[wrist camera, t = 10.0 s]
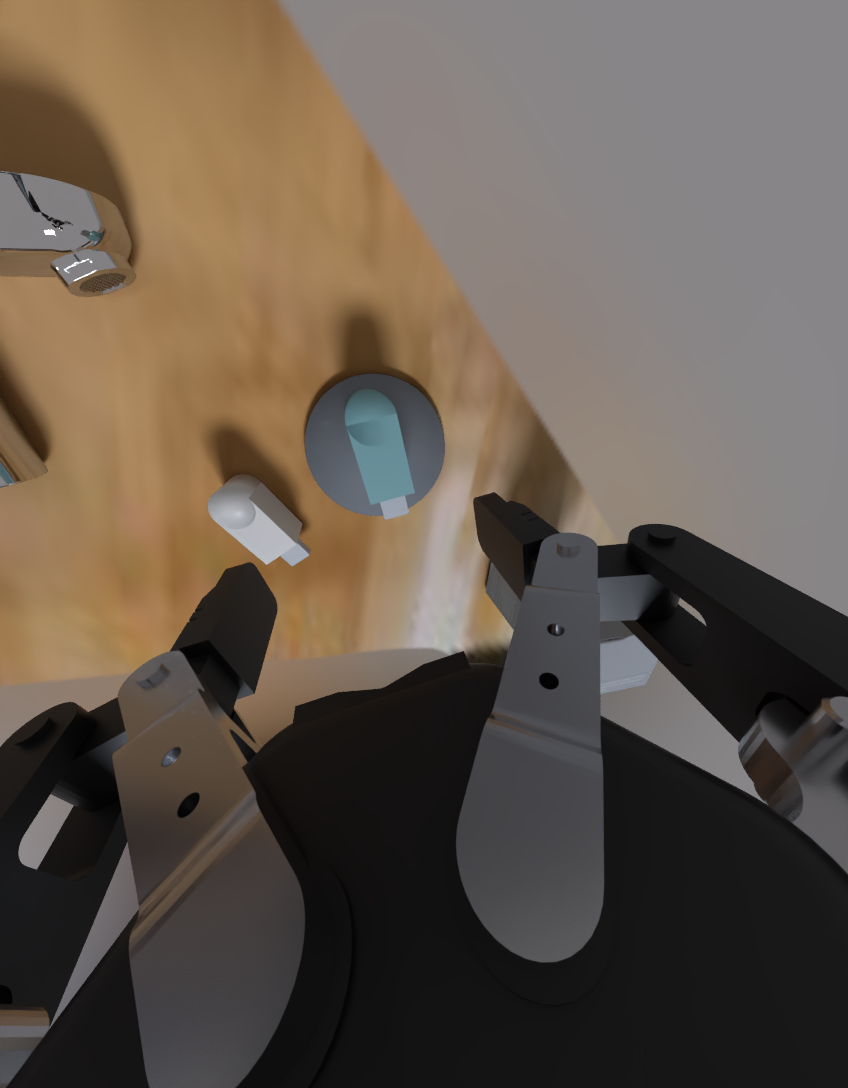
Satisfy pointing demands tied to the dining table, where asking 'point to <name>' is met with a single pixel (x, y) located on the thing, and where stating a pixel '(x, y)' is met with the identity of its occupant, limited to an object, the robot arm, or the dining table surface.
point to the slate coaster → (335, 452)
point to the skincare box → (619, 647)
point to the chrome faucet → (55, 268)
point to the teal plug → (379, 450)
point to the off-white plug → (258, 520)
